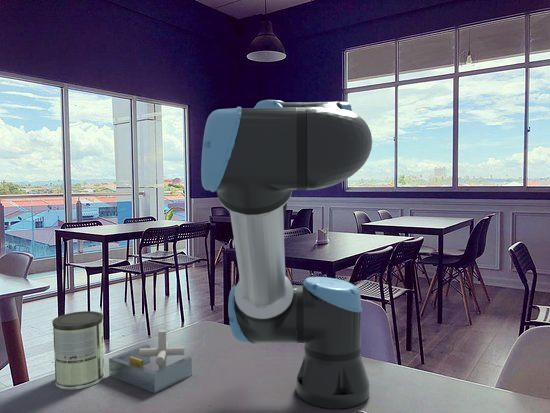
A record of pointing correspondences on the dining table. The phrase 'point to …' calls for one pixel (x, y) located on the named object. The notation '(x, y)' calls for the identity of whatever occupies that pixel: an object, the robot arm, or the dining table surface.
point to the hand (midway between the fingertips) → (272, 258)
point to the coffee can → (78, 349)
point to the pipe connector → (162, 350)
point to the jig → (147, 371)
